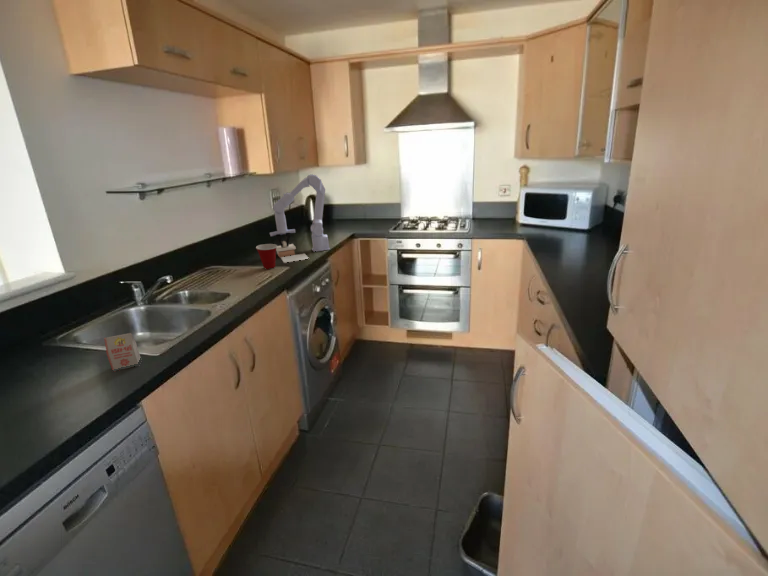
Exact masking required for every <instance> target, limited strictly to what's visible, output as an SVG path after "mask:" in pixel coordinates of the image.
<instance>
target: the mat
mask: <svg viewBox="0 0 768 576" xmlns="http://www.w3.org/2000/svg"><path fill="white" fill-rule="evenodd" d="M308 258H309V257H308V255H306V253H304V252H303V253H299V254H295V255H291V256H285V257H280V260H281V261H282V263H283V264H288V263H287V262H289V263H294V262H293V261H295V262H300V261H299V260H301V261H306V260H305V259H308ZM308 260H309V259H308Z"/></svg>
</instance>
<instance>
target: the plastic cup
mask: <svg viewBox="0 0 768 576" xmlns="http://www.w3.org/2000/svg"><path fill="white" fill-rule="evenodd" d="M277 246H278V244H275V243H274V244H273V243H265V244H263V243H262V244H258V245H256V247H255V249H256V251H257V253H258V255H259V258H260V261H261V263H262V266H263V268H266V269H265V270H270V269H269V268H273V269H275V268H276V260H277V259H276V258H277V257H276V255H277V251H276V248H277ZM274 267H275V268H274Z"/></svg>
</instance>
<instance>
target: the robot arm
mask: <svg viewBox="0 0 768 576" xmlns="http://www.w3.org/2000/svg"><path fill="white" fill-rule="evenodd" d="M309 187H312V188H313V190H314V191H315V192H316V194H315V202H314V203H315V204H314V214H313V219H312V224H310V232H311V236H310V237H311V243H312V248H311V250H312V251H313V252H314V253H315V251H316V252H322V251H328V250H330V244H329V243H330V242H329V238H328V234H324V227H323V215H324V214H323V213H324V206H325V196H326V195H325V194H326V188H325V186H324V184H323V182H322V179H321V178H320V177H319V176H318V175H317V174H313V173H312V174H308V175H307V176H306V177H305V178H303V179H302V180H300V181H299V182H298V184H297V185H296V186H295V187H294V188H293V189H292V190H291V191H290V192H284V193H283V195H282V197H280V198H279V199H277V202H274V204H273V206H272V209H273V211H274V219H275V225H276V226H275V227H276V230H275V231H271V232H269V235H270V237H274V236H275V237H276V238H277V241H278V242H279V243H280V246H281V247H283V245H282V235H284V236H285V239H286V240H285V241H287V246H289V244H290V243H289V242H290V238H291V234H295V233H296V229H295V228H292V229H288V226H287V218H286V215H285V208H287V207H289V205H291V204H292V203H293V202H294V201H295V197H296V196H298V194H299V193H300V192H301V191H303V189H305V188H309Z"/></svg>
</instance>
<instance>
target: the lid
mask: <svg viewBox="0 0 768 576" xmlns="http://www.w3.org/2000/svg"><path fill="white" fill-rule="evenodd" d="M282 245H283V247H281V245H277V248H276V253H277V252H280V251H286V250H293V249H294V250H296V249H297V248H296V246H295V245H294V243H291V244H290V243H289V246H287V241H286V240H283V241H282Z"/></svg>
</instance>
